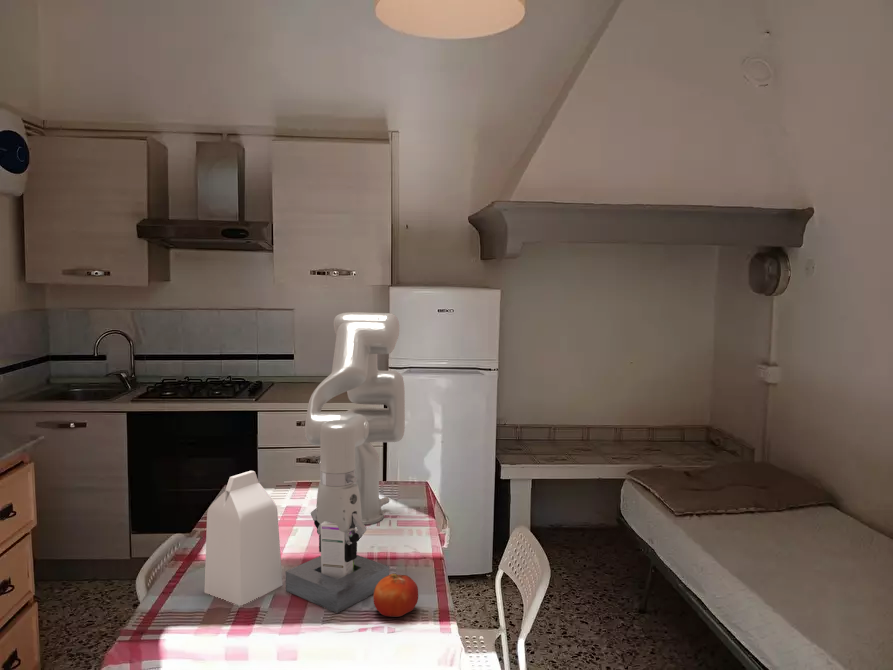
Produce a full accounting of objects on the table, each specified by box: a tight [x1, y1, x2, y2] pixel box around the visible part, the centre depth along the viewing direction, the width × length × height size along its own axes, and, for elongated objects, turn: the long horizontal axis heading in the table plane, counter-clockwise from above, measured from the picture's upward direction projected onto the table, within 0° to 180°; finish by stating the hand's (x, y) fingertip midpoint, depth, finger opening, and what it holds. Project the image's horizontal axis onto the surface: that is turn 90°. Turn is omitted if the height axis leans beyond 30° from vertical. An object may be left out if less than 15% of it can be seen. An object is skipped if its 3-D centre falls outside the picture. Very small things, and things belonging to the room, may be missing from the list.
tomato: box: [372, 573, 419, 618], centre depth 143 cm, size 9×9×8 cm
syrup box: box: [320, 521, 354, 580], centre depth 152 cm, size 6×6×14 cm
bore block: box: [285, 554, 390, 614], centre depth 153 cm, size 16×16×4 cm
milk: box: [203, 470, 284, 605], centre depth 151 cm, size 12×12×26 cm
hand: (337, 554), depth 153 cm, fingers closed on syrup box, 7 cm apart
